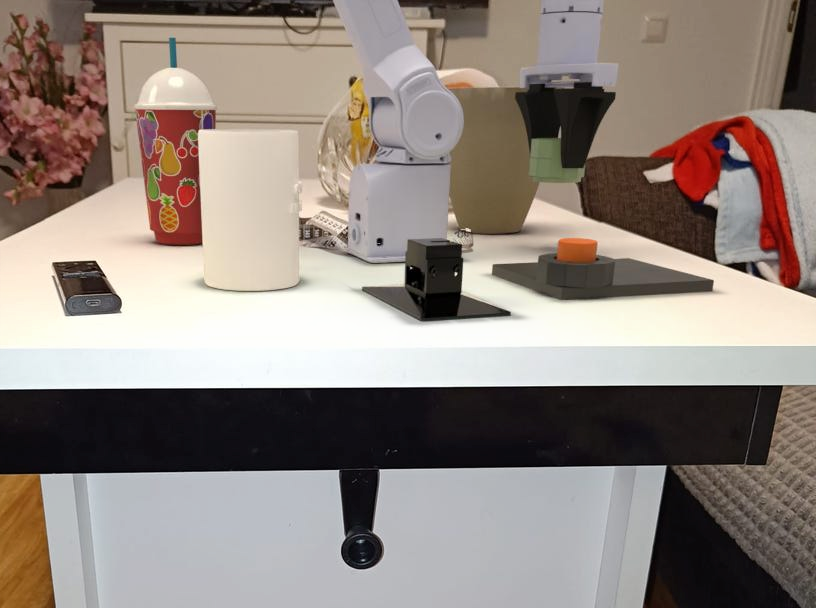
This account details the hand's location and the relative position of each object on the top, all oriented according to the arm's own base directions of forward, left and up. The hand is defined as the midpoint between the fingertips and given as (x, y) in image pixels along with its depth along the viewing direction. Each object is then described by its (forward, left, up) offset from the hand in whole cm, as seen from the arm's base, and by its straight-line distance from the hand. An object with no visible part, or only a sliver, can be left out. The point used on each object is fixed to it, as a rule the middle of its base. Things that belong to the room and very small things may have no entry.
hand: (557, 166), depth 93 cm
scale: (-5, -17, -8) cm, 20 cm away
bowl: (0, 0, -1) cm, 1 cm away
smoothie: (-35, +17, -9) cm, 40 cm away
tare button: (-10, -21, -6) cm, 24 cm away
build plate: (-22, -21, -9) cm, 32 cm away
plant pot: (+2, +18, -9) cm, 20 cm away
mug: (-33, -7, -9) cm, 35 cm away
